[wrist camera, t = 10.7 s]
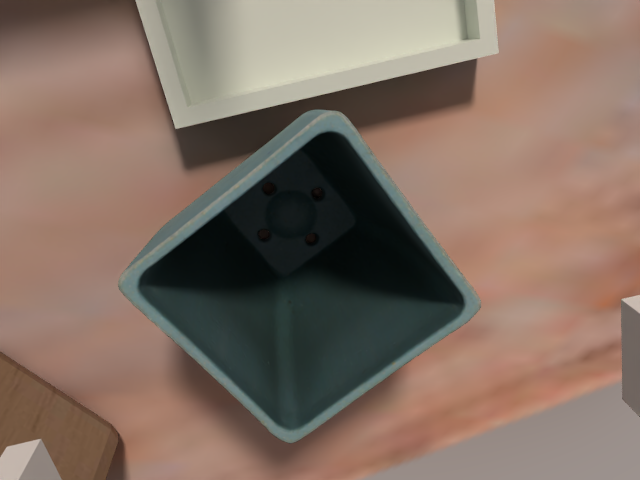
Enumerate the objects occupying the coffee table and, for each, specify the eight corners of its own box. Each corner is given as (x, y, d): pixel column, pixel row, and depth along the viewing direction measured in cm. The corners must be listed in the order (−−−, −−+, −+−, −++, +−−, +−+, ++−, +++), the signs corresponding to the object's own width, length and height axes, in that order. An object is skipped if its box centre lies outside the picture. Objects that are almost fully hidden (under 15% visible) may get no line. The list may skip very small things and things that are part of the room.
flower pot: (418, 224, 27) (490, 310, 19) (278, 327, 28) (287, 452, 20) (309, 77, 24) (337, 102, 16) (157, 200, 25) (108, 284, 17)
